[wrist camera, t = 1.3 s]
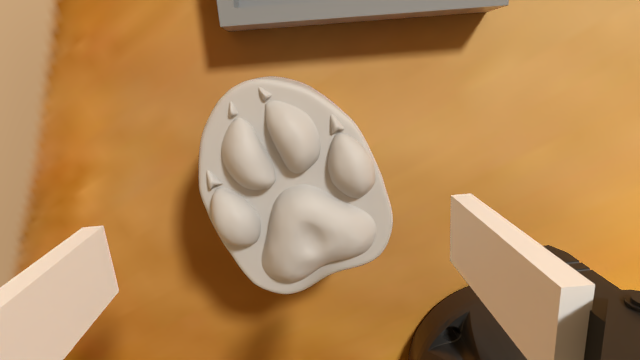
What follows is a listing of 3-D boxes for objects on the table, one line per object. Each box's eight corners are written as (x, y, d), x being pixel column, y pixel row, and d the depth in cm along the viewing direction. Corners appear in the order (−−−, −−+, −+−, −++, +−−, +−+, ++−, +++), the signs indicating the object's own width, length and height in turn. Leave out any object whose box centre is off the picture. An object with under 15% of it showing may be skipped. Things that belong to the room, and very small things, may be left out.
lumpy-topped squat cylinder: (268, 259, 32) (256, 325, 24) (188, 111, 29) (142, 127, 20) (387, 207, 31) (418, 257, 23) (320, 49, 28) (328, 39, 20)
